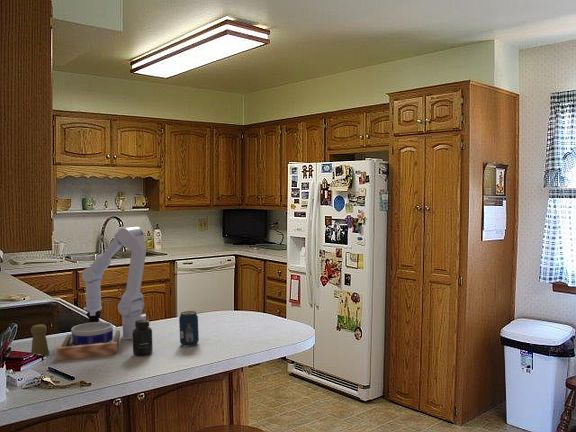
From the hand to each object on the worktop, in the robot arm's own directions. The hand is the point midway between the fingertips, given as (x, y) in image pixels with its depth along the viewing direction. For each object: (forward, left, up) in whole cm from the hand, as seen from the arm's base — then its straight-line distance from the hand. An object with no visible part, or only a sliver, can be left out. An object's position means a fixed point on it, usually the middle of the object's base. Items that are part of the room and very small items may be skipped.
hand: (94, 329), depth 227 cm
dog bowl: (0, +11, -2) cm, 12 cm away
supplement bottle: (-19, +36, -2) cm, 41 cm away
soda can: (-36, +29, -2) cm, 46 cm away
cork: (+17, +24, -2) cm, 30 cm away
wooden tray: (0, +19, -2) cm, 19 cm away
